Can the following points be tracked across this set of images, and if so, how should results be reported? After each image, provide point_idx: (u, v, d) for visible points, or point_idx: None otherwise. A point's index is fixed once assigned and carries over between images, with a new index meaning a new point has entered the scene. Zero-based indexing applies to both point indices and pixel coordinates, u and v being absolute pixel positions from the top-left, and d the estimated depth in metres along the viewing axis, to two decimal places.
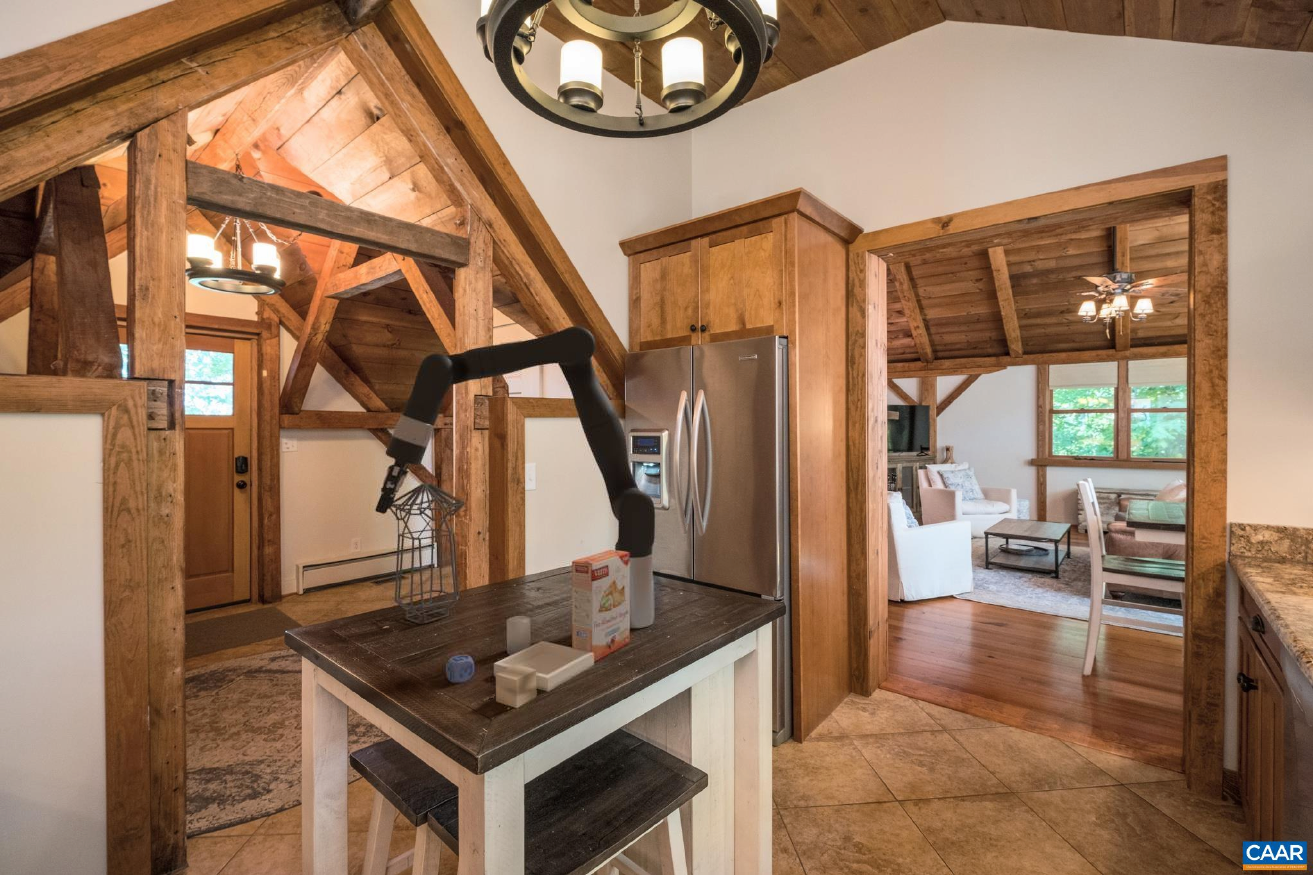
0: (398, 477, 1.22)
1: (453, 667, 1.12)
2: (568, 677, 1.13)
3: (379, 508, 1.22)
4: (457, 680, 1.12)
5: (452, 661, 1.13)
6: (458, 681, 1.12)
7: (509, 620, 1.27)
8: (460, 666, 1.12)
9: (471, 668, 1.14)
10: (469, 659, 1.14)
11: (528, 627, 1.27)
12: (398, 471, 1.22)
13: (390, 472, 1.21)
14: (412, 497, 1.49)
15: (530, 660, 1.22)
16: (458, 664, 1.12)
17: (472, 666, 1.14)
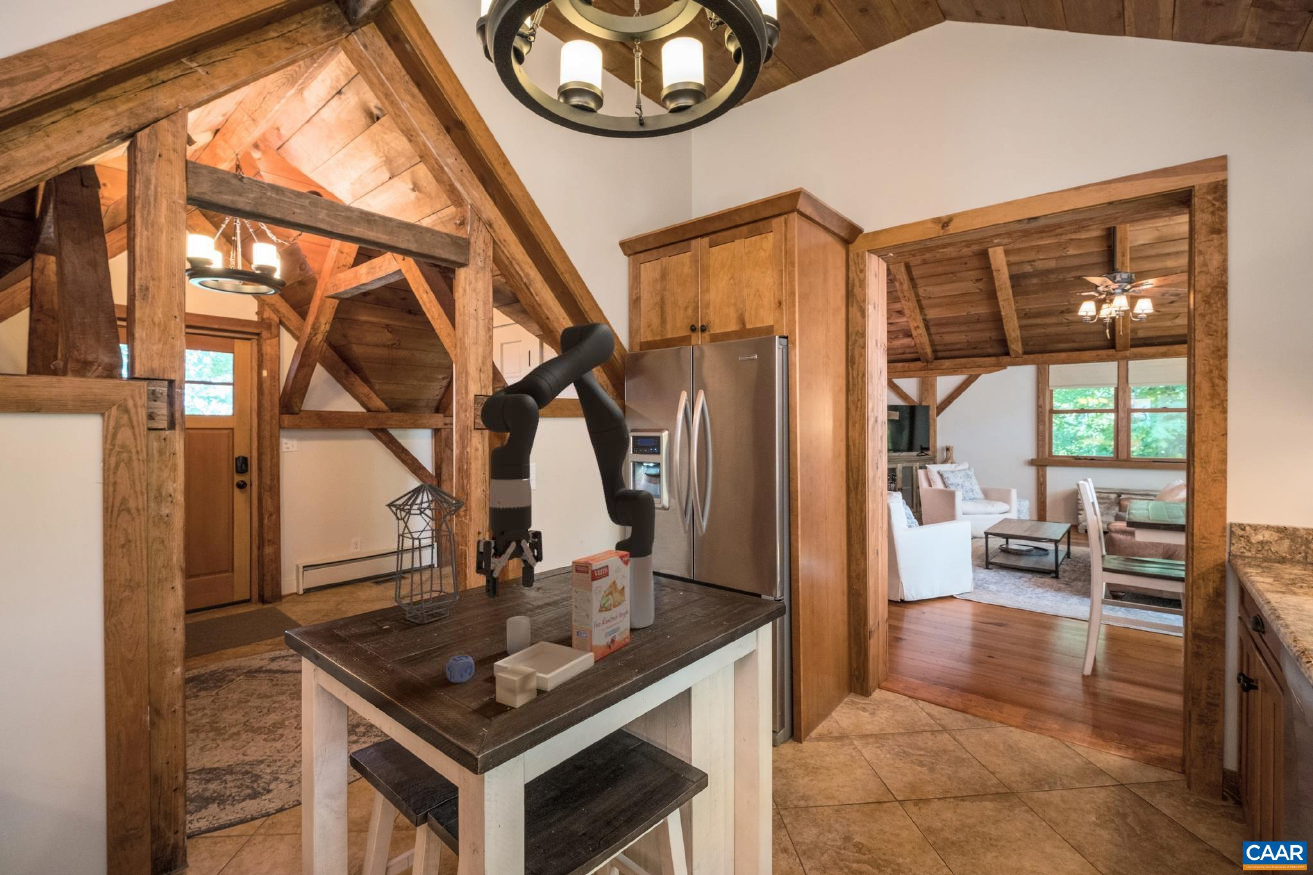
0: (485, 553, 1.01)
1: (453, 667, 1.12)
2: (568, 677, 1.13)
3: (487, 593, 1.03)
4: (457, 679, 1.12)
5: (452, 661, 1.13)
6: (458, 681, 1.12)
7: (509, 620, 1.27)
8: (460, 666, 1.12)
9: (471, 668, 1.14)
10: (469, 659, 1.14)
11: (528, 627, 1.27)
12: (483, 546, 1.01)
13: (478, 549, 1.02)
14: (412, 497, 1.49)
15: (530, 660, 1.22)
16: (458, 664, 1.12)
17: (472, 666, 1.14)
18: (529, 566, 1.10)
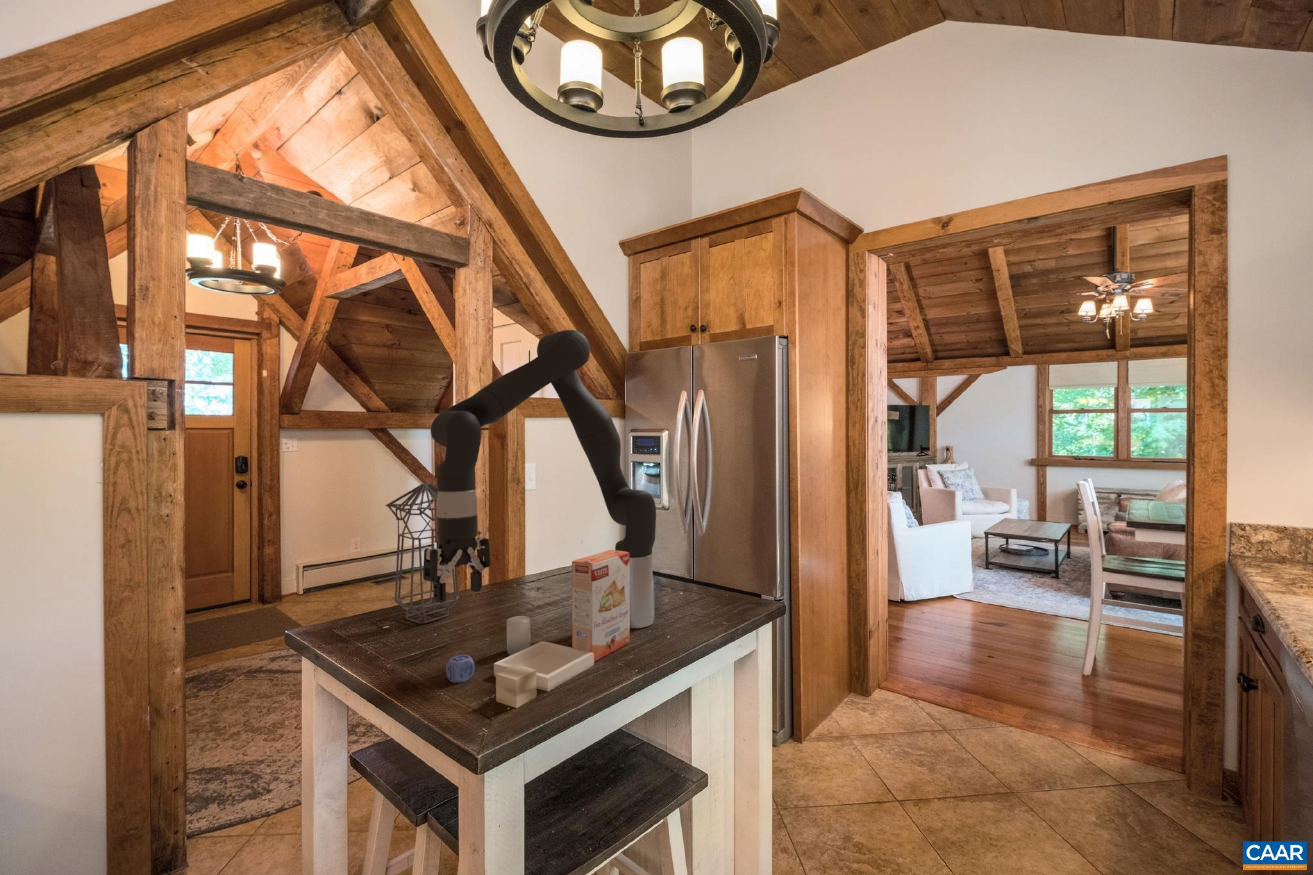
0: (431, 561, 1.08)
1: (453, 667, 1.12)
2: (568, 677, 1.13)
3: (434, 598, 1.10)
4: (457, 679, 1.12)
5: (452, 661, 1.13)
6: (458, 681, 1.12)
7: (509, 620, 1.27)
8: (460, 666, 1.12)
9: (471, 668, 1.14)
10: (469, 659, 1.14)
11: (528, 627, 1.27)
12: (430, 554, 1.08)
13: (425, 557, 1.09)
14: (412, 497, 1.49)
15: (530, 660, 1.22)
16: (458, 664, 1.12)
17: (472, 666, 1.14)
18: (476, 571, 1.17)
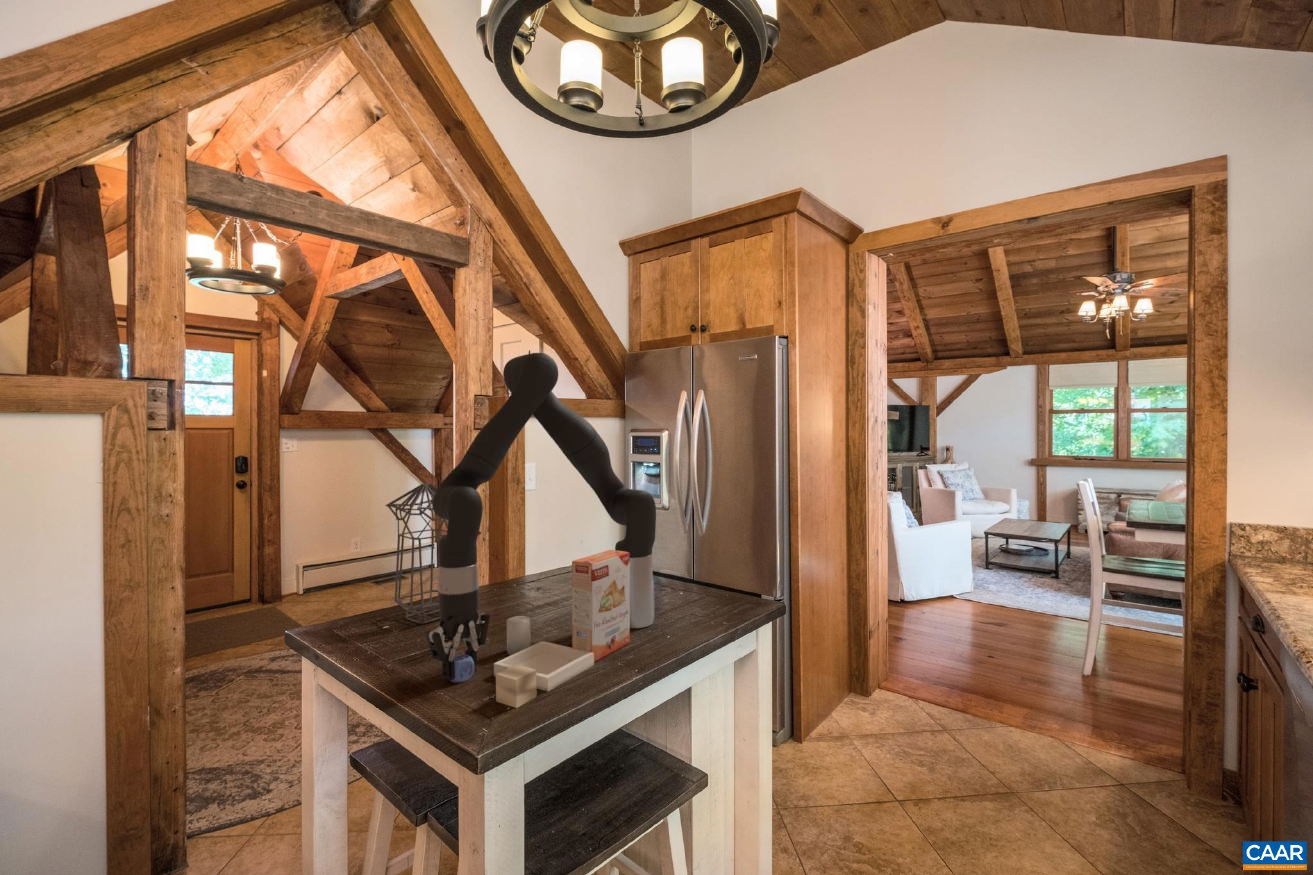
0: (435, 644, 1.08)
1: None
2: (568, 677, 1.13)
3: (443, 675, 1.11)
4: (457, 679, 1.12)
5: None
6: (458, 681, 1.12)
7: (509, 620, 1.27)
8: (460, 666, 1.12)
9: (471, 667, 1.14)
10: (469, 659, 1.14)
11: (528, 627, 1.27)
12: (432, 638, 1.08)
13: (428, 640, 1.09)
14: (412, 497, 1.49)
15: (530, 660, 1.22)
16: (458, 664, 1.12)
17: (472, 665, 1.14)
18: (471, 650, 1.16)
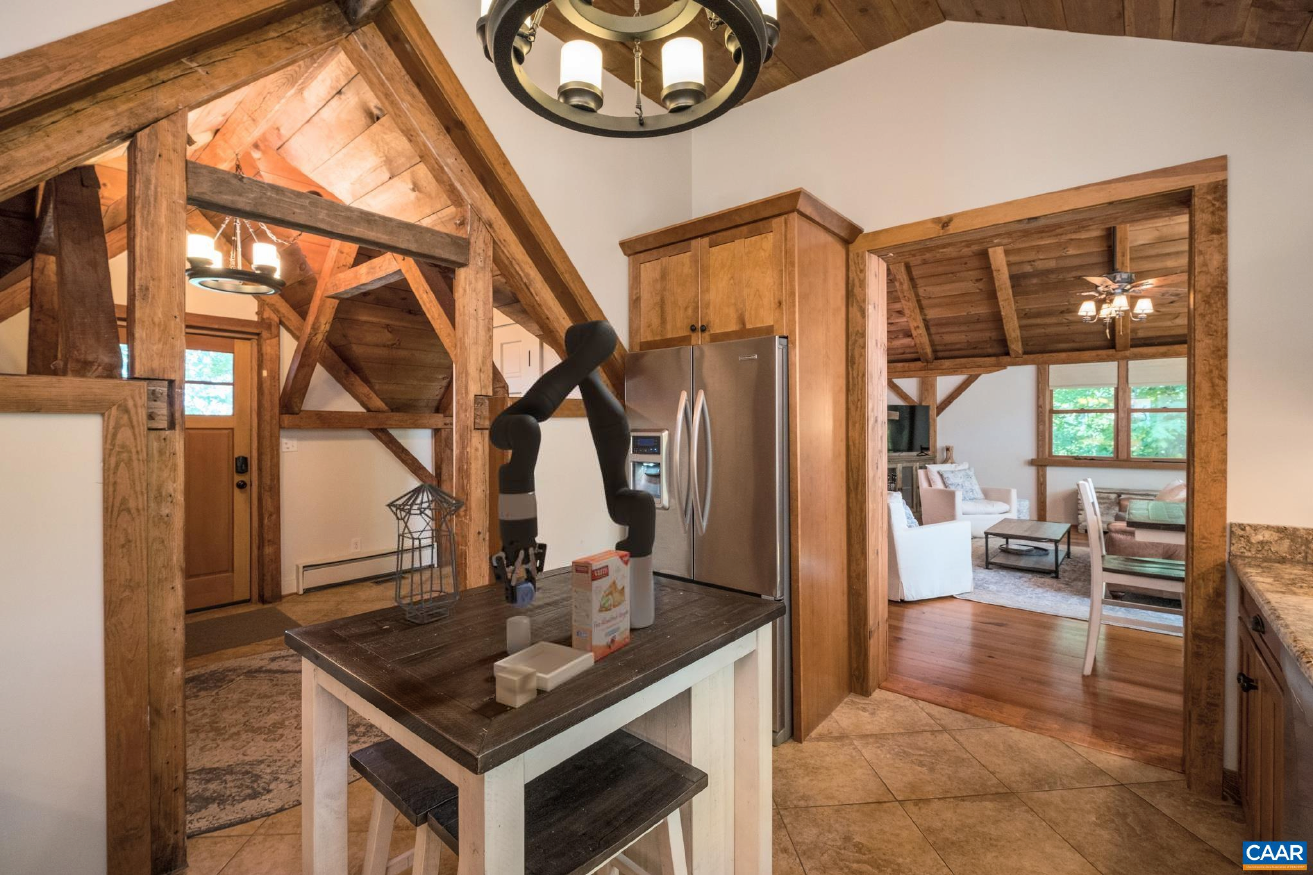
0: (499, 567, 1.11)
1: None
2: (568, 677, 1.13)
3: (506, 599, 1.14)
4: (519, 603, 1.15)
5: None
6: (520, 605, 1.15)
7: (509, 620, 1.27)
8: (522, 590, 1.15)
9: (531, 593, 1.17)
10: (529, 584, 1.17)
11: (528, 627, 1.27)
12: (496, 561, 1.11)
13: (492, 564, 1.12)
14: (412, 497, 1.49)
15: (530, 660, 1.22)
16: (519, 588, 1.15)
17: (532, 591, 1.17)
18: (530, 577, 1.19)
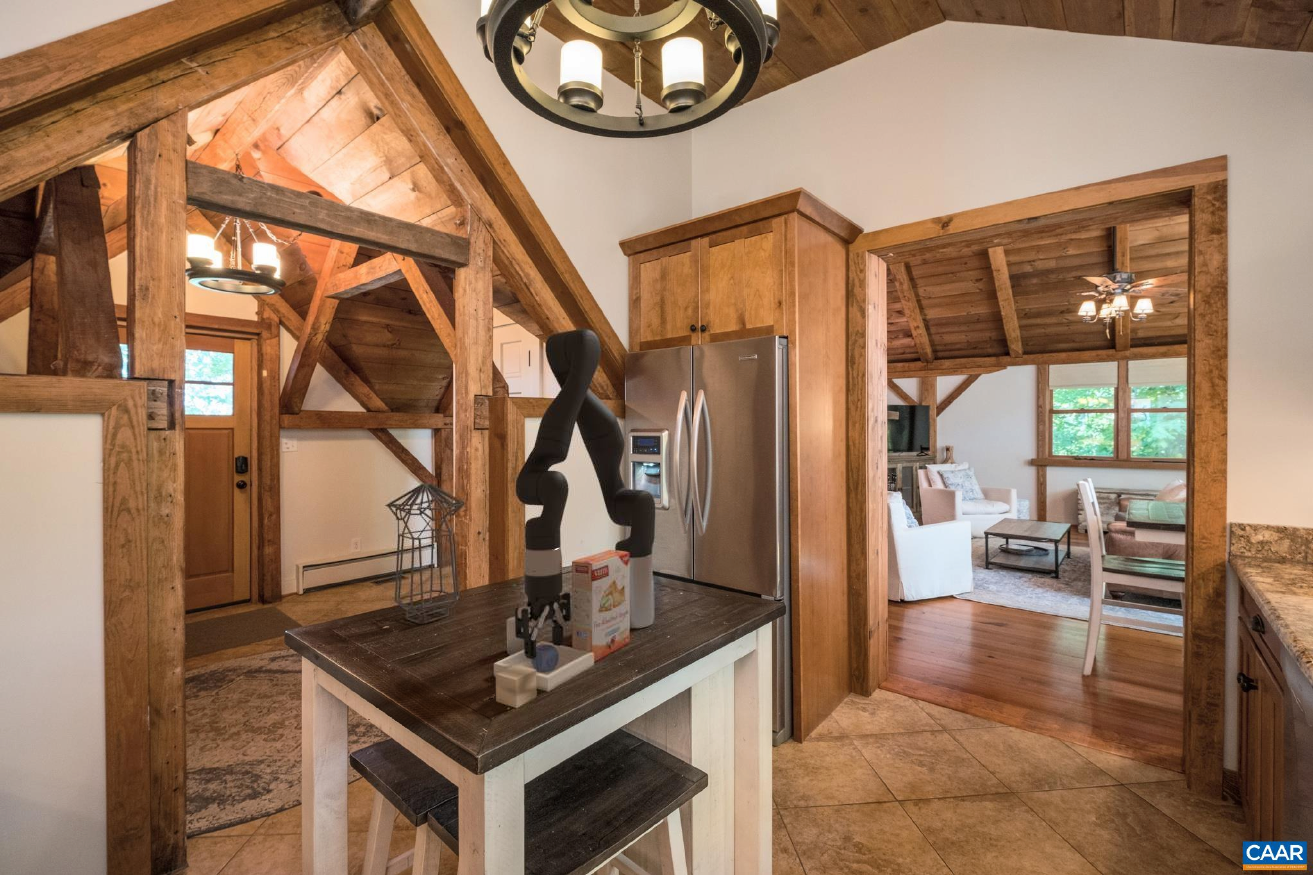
0: (523, 620, 1.11)
1: (540, 656, 1.15)
2: (568, 677, 1.13)
3: (525, 654, 1.13)
4: (544, 668, 1.15)
5: (538, 650, 1.16)
6: (545, 670, 1.15)
7: (509, 620, 1.27)
8: (547, 655, 1.16)
9: (556, 657, 1.17)
10: (554, 648, 1.17)
11: None
12: (521, 614, 1.11)
13: (516, 616, 1.12)
14: (412, 497, 1.49)
15: (530, 660, 1.22)
16: (545, 654, 1.15)
17: (557, 655, 1.18)
18: (558, 626, 1.20)
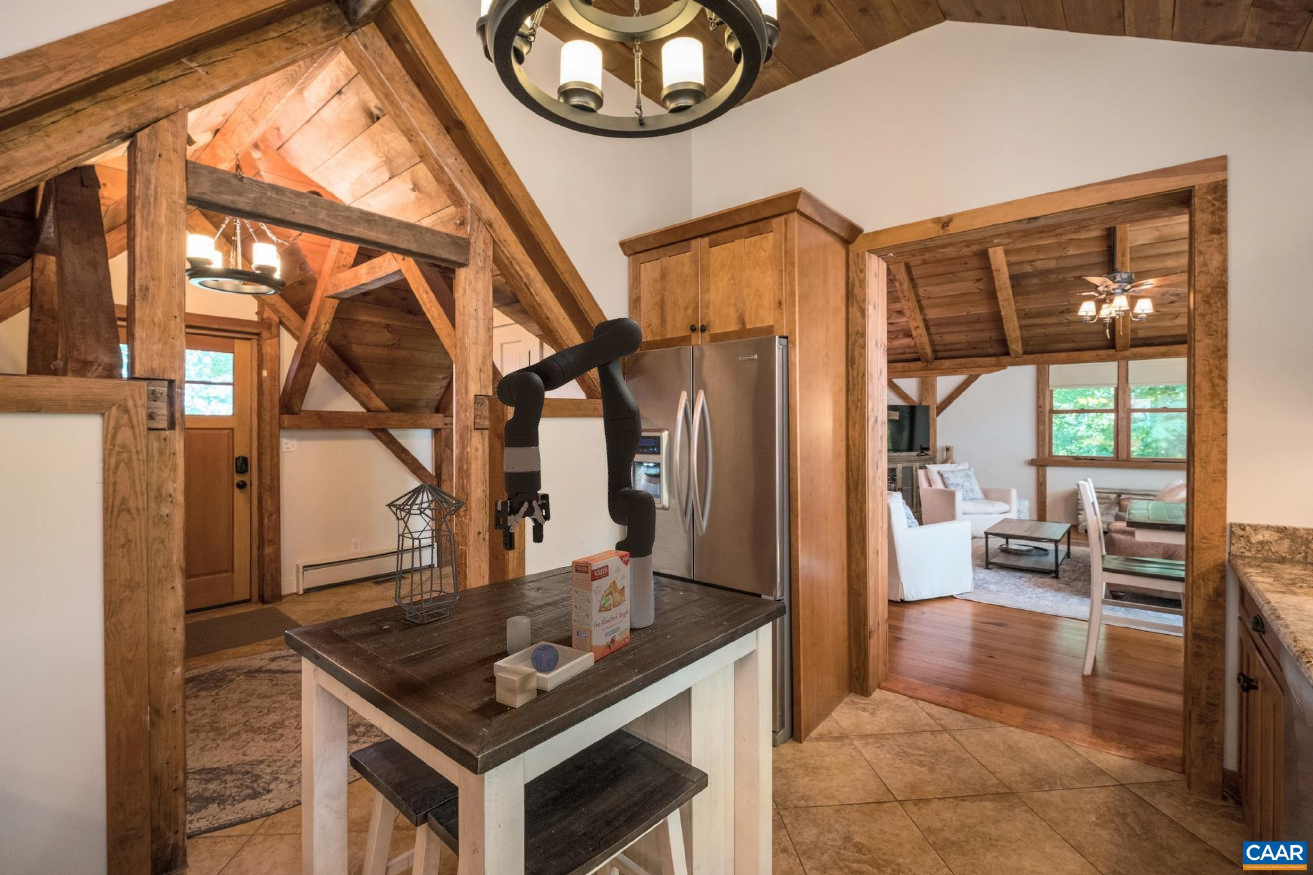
0: (502, 511, 1.15)
1: (540, 656, 1.15)
2: (568, 677, 1.13)
3: (504, 546, 1.18)
4: (544, 668, 1.15)
5: (538, 650, 1.16)
6: (545, 670, 1.15)
7: (509, 620, 1.27)
8: (547, 655, 1.16)
9: (556, 657, 1.17)
10: (554, 648, 1.17)
11: (528, 627, 1.27)
12: (501, 505, 1.16)
13: (496, 508, 1.16)
14: (412, 497, 1.49)
15: (530, 660, 1.22)
16: (545, 654, 1.15)
17: (557, 655, 1.18)
18: (538, 524, 1.25)
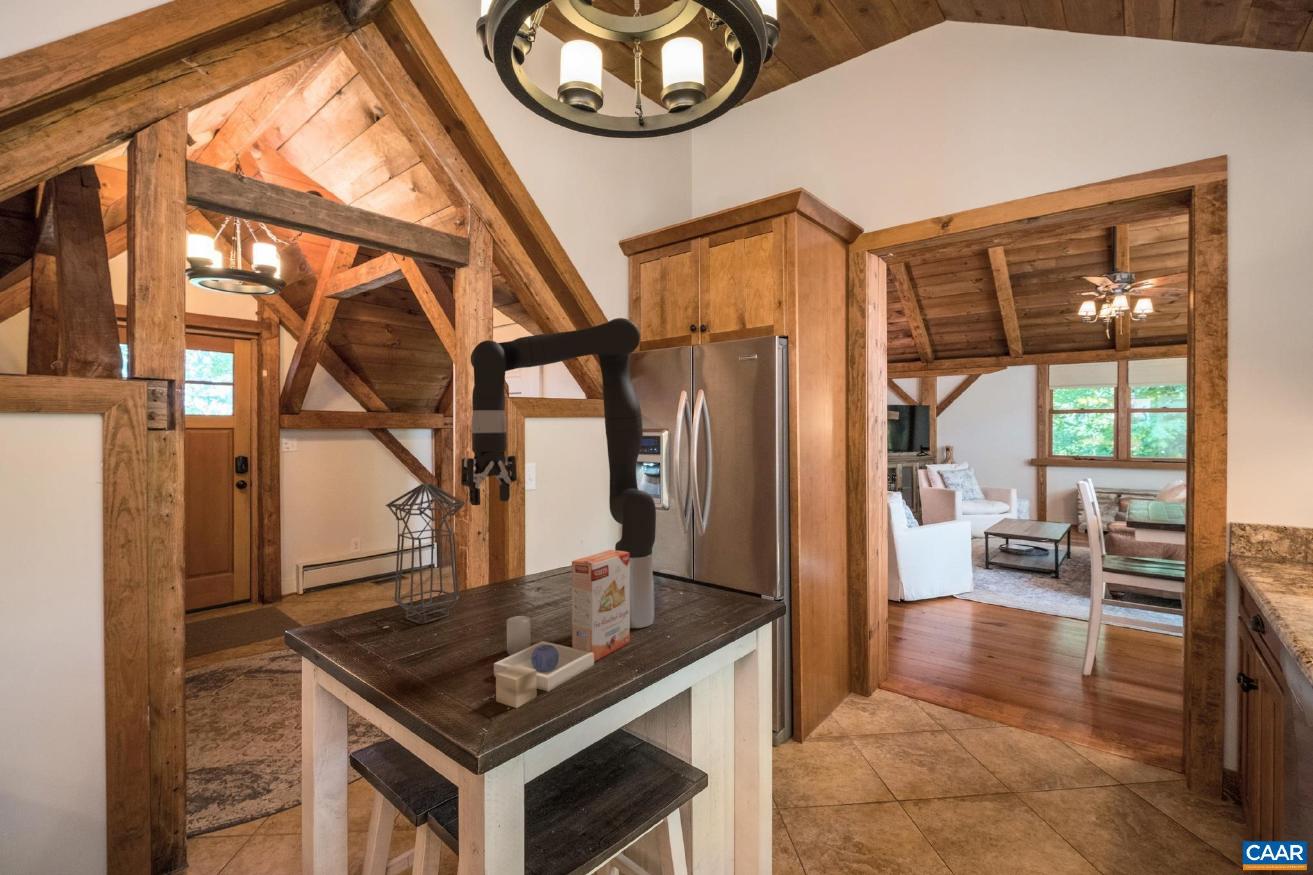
0: (468, 468, 1.25)
1: (540, 656, 1.15)
2: (568, 677, 1.13)
3: (470, 501, 1.27)
4: (544, 668, 1.15)
5: (538, 650, 1.16)
6: (545, 670, 1.15)
7: (509, 620, 1.27)
8: (547, 655, 1.16)
9: (556, 657, 1.17)
10: (554, 648, 1.17)
11: (528, 627, 1.27)
12: (467, 462, 1.26)
13: (462, 465, 1.26)
14: (412, 497, 1.49)
15: (530, 660, 1.22)
16: (545, 654, 1.15)
17: (557, 655, 1.18)
18: (505, 483, 1.35)
